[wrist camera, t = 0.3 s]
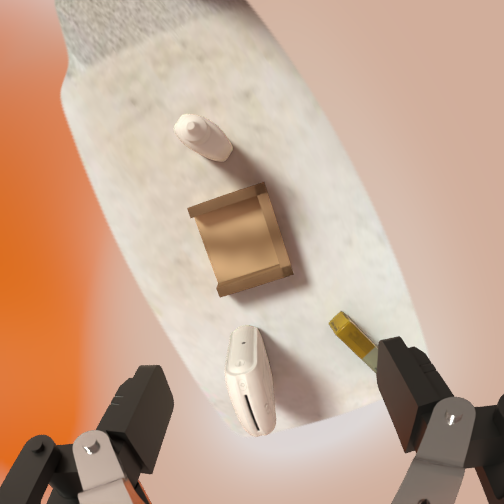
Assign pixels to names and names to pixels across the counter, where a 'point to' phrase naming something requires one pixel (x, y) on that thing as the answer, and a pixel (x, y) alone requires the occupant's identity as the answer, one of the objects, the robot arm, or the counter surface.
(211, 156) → the eye dropper bottle
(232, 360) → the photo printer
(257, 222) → the oak tray
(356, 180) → the counter surface
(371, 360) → the medication box
